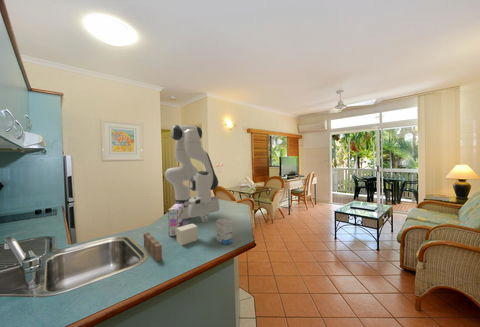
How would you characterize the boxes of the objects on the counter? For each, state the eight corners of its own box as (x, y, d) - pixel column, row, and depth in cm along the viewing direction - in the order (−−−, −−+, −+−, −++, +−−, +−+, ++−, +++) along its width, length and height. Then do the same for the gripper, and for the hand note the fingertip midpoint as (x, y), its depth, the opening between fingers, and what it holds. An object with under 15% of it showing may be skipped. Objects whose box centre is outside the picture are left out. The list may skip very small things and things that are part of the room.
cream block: (176, 241, 109) (176, 227, 108) (192, 236, 115) (192, 223, 115) (181, 245, 104) (180, 231, 104) (197, 239, 111) (197, 226, 110)
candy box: (178, 236, 116) (177, 209, 115) (168, 236, 115) (167, 209, 115) (184, 227, 129) (184, 203, 128) (176, 227, 129) (175, 203, 128)
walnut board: (144, 246, 104) (143, 233, 103) (148, 244, 105) (148, 232, 105) (156, 261, 89) (156, 246, 89) (162, 259, 91) (161, 245, 90)
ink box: (232, 242, 107) (232, 221, 106) (226, 245, 104) (225, 223, 103) (223, 237, 113) (222, 217, 113) (216, 240, 110) (215, 219, 109)
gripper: (215, 195, 125) (215, 216, 126) (185, 200, 111) (186, 224, 112) (221, 196, 120) (221, 218, 121) (191, 202, 107) (191, 226, 107)
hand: (204, 221), depth 116 cm, fingers closed
